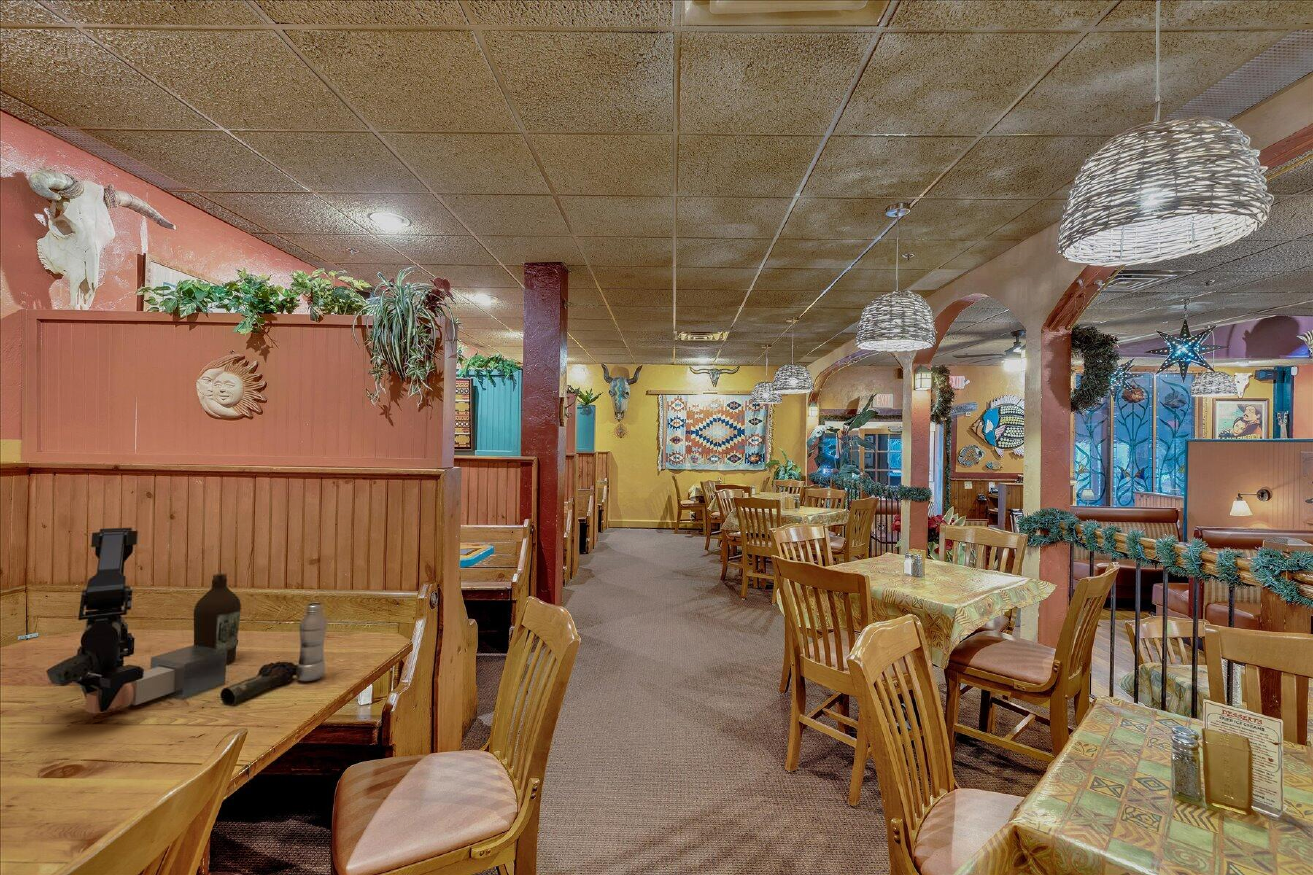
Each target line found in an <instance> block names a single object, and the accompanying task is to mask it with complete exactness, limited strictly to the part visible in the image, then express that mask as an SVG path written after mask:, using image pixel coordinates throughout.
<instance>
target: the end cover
mask: <svg viewBox="0 0 1313 875" xmlns="http://www.w3.org/2000/svg"><path fill="white" fill-rule="evenodd" d="M175 672H176V669H172V668H167V667H162V666H159V667H156V668H153V669H150V668H149V669H146V670H144V676H143V678H142V679H140V680H137V681H133V682H130V683H127V684H124V685H123V687H122V688H121V689H120V691H119V692H118V694H117V695H116V697H115V698H114V700H113V702H112V703H111V705H110V706H109V708H108V710H109V709H112V708H114V709H116V710H121V709H124V708H127V707H129V706H130V705H132V706H133V705H134V706H136V705H139V704H140V705H141V704H142V703H146V702H148V701H152V700H155V699H157V698H160V697H162V696H165V695H166V694H169V693H172V692H174V688H175ZM84 709H85V712H88V713H91V714H97V713H98V714H99V713H101V712H100V708H99V698H98V690H97V691H94V692H91V693H87V694H86V698H85V708H84Z"/></svg>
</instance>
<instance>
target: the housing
mask: <svg viewBox="0 0 1313 875" xmlns="http://www.w3.org/2000/svg"><path fill="white" fill-rule="evenodd" d="M226 661H227V651H225V650H220V649H214V648H209V647H203V646H198V645H194V644H192V645H190V646H186V647H182V648H179V649H176V650H171V651H168V652H165V653H161V654H158V655H154V656H151V657H150V668H149V669H153V668H156V667H159V666H162V667H167V668H172V669H176V672H175V688H174V692H172V693H169V694H166V695H164V696H165V697H170V698H173V699H180V700H186V699H188V698H191V697H193V696H197V695H199V694H202V693H204V692H207V691H210V690H212V689H215V688H218V687H221V686H223V685H226V674H227V673H226V672H227V665H226Z"/></svg>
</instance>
